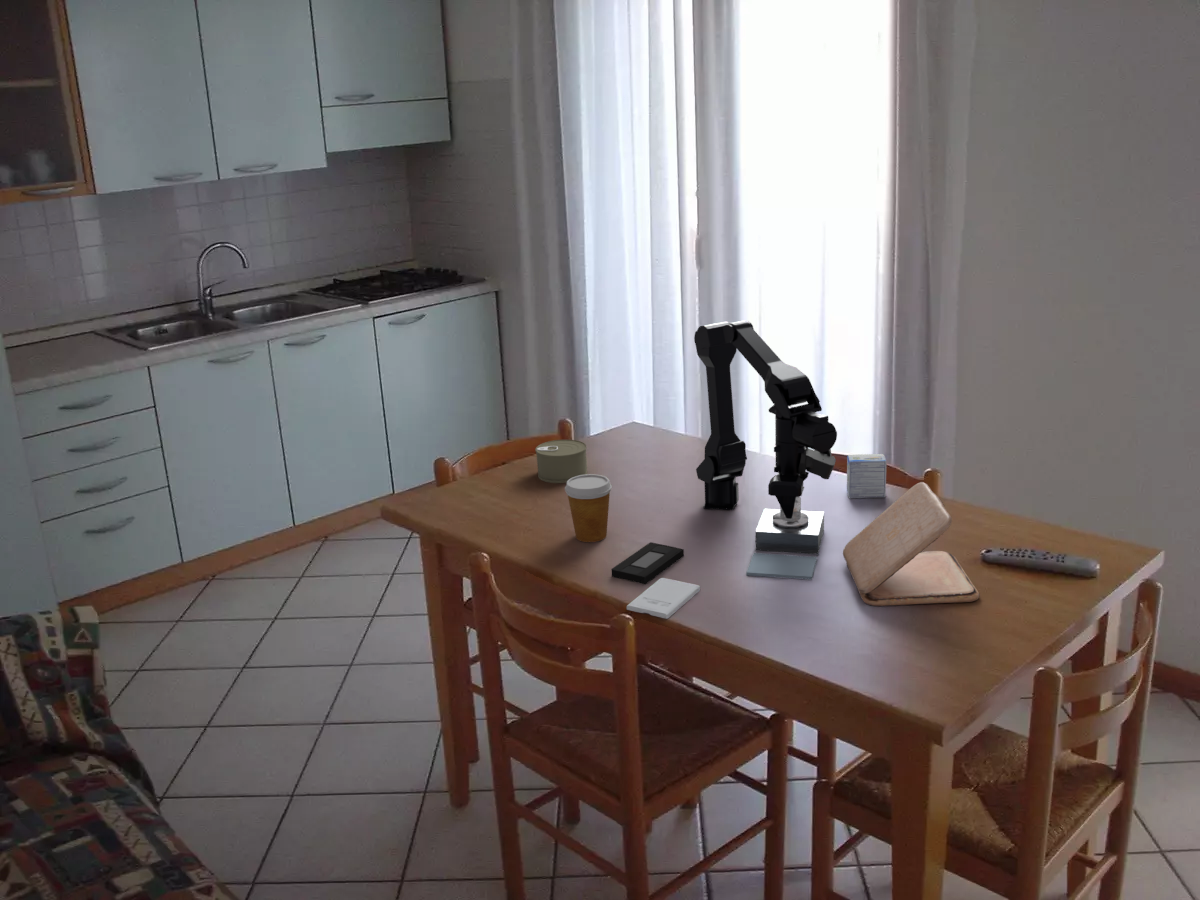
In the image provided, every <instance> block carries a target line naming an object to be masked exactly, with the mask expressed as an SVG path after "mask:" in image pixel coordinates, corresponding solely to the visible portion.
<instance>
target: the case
mask: <svg viewBox="0 0 1200 900" xmlns="http://www.w3.org/2000/svg"><path fill="white" fill-rule="evenodd" d="M952 522H953V519H952V516H951V514H950V512H948V510H947V509H946V508H945V504H944V502H943V501H942V500H941V498H940V497H939V496H938V495H937V494H936V493H935V492H934V491H932V488H931V487H930V486H929V484H928V483H925V482H924V481H920V482H918V483H916V484H914V485H913V486H911V487H910V488H909V489H908V490H907V491H906V492H904V493H903V494H902V495H901V496H900V497H899V498H898V499H896V501H894V502H893V503H892V504H890V506H888V507H887V508H886V509H885V510H884V511H882V513H880V514H879V515H878V516H877V517H876V518H875V519H874V520H872V521H871V522H870V523H869V524H867V526H865V528H863V529H862V530H861V531H860V532H859V533H857V534H856V535H855V536H854V537H853V538H852V539H850V540H849V541H848V542H847V543H846V544H845V546H844V548H843V551H842V555H843V558H844V560H845V562H846V566H847V568H848V570H849V572H850V574H851V576H852V578H853V581H854V584H855V585H856V589H857V590H858V592H859V596H860V598H861V600H862V601H863V602H864V603H865V604H866V605H868V606H871V607H872V606H873V607H886V606H887V607H889V606H902V605H904V606H906V605H907V606H908V605H925V604H948V603H953V604H954V603H971V602H976V601H977V600H978V599H979V598H980V593H979V590H978V589H977V588H976V586H975V585H974V583H973V582H972V580H971V579H970V577H969V576H968V575H967V573H966V572H965V570H964V568H963V567H962V565H961V564H960V563H959V561H958V559H957V557H956V556H955V555H953V554H951V553H950V552H948V551H945V550H930V551H929V550H928V551H925V549H926V548H928V547H930V545H931V544H933V543H935V542H936V541H937V539H939V538H940V536H943V535H944V533H945V532H947V530H949V528H950V526H951V525H952Z"/></svg>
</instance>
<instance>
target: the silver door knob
mask: <svg viewBox="0 0 1200 900" xmlns="http://www.w3.org/2000/svg"><path fill="white" fill-rule="evenodd" d="M779 507H780V508H779V510H780V512H778V513H776V514H774V515H773V523H774V524H775V525H777V526H779V527H783V528H799V527H803V526H805V525H807V524H808V522H809V517H808V515H806V514H805V513H802V512H801V511H802V498H801V496H799V497H796V500H795V506H794V511H793V516H792V518H791V519H788V518H786V516H785V514H784V512H783V510H782V508H781V506H780V505H779Z"/></svg>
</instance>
